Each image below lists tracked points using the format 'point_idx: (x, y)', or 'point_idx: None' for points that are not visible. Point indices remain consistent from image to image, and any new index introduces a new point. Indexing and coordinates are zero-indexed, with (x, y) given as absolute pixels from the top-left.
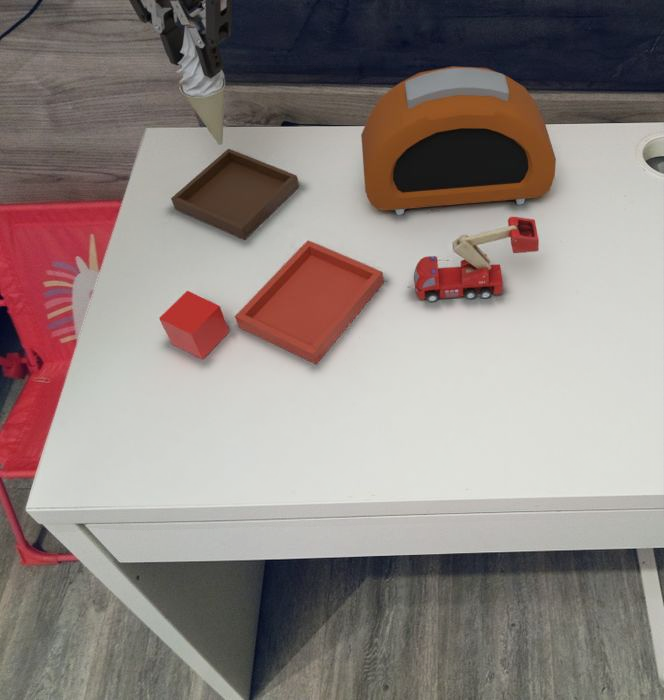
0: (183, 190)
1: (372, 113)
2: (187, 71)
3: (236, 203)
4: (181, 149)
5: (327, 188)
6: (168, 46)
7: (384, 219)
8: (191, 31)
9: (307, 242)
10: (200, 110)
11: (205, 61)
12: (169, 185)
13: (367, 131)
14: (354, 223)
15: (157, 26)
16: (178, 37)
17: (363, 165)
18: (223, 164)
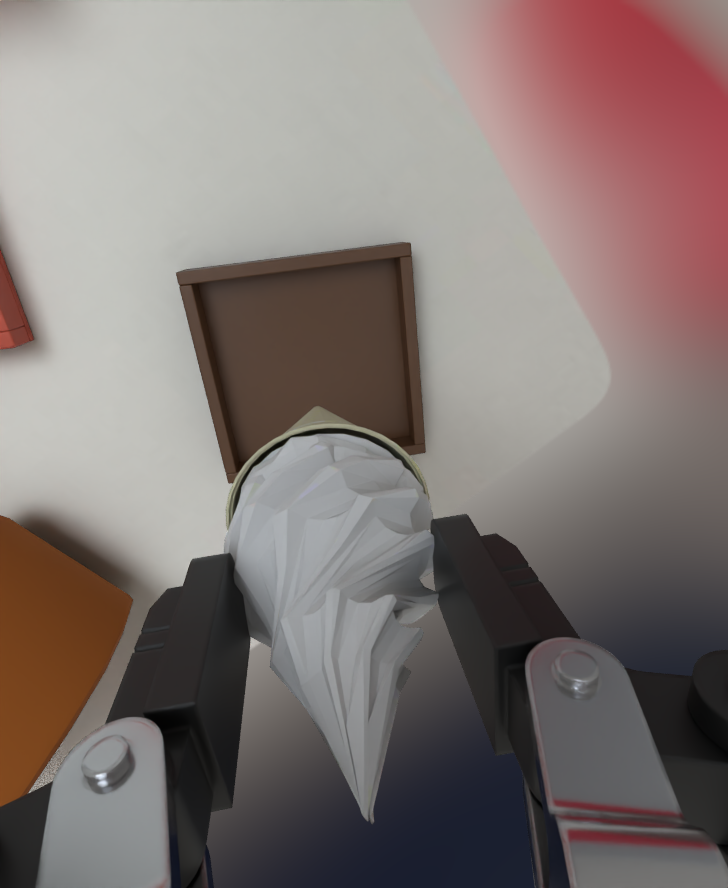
0: (405, 284)
1: (42, 727)
2: (326, 520)
3: (292, 344)
4: (537, 396)
5: (181, 500)
6: (470, 586)
7: (6, 508)
8: (132, 855)
9: (7, 340)
10: (299, 425)
11: (171, 631)
12: (476, 295)
13: (43, 673)
14: (42, 462)
15: (573, 688)
16: (472, 672)
17: (13, 587)
18: (409, 414)
